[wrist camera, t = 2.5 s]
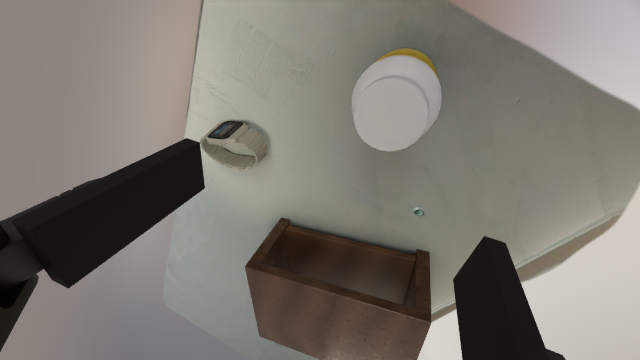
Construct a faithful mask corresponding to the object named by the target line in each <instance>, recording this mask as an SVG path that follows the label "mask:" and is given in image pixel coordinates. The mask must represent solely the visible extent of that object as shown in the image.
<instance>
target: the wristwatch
mask: <svg viewBox="0 0 640 360" xmlns="http://www.w3.org/2000/svg"><path fill="white" fill-rule="evenodd" d="M236 142H239V143H241V144H243V145H245V146H247V147H248V148H249V149H250V150H251V151H252V152H253V154H254V155H255V157H251V156H245V155H242V156H241V155H237V154H234V153H231V152H229V151H227V150H226V149H224V148H222V147H221V146H224V145H225V144H229V143H236ZM200 144H201V146H202V148H203V150H204V151H205V152H206V153H207V154H208V155H209V156H210V157H211V158H212V159H214V160H216V161H217V162H218V163H220V164H223V165H225V166H228V167H231V168H234V169H237V170H240V171H243V170H244V169H246V168H247V169H249V168H253V167H255V166H256V165H257V164H258V163H259V161H260V160H261V159H262V158H263V157H264V156H265V154H266V152H267V146H266V143H265V141H264V139H263V138H262V137H261V135H260V134H258V133H257V132H256V131H254V130H253V129H250V127H249V126H247V125H245V122H236V121H226V122H223V123H220V124H218V125H217V126H216V127H214V128H213V129H212V130H211V131H210V132H208V133H207V134H206V135H205V136H204V137H203V138H202V139H201V140H200Z"/></svg>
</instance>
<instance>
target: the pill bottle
mask: <svg viewBox="0 0 640 360" xmlns="http://www.w3.org/2000/svg"><path fill="white" fill-rule="evenodd" d="M441 103H442V91H441V86H440V82H439V79H438V75H437V72H436V69H435V66H434V64H433V63H432V61H431V60H430V58H429V57H428V56H427V55H425V54H424V53H423V52H421V51H419V50H416V49H412V48H399V49H395V50H392V51H390V52H388V53H386V54H385V55H383V56H382V57H381V58H380V59H378V60H377V61H376V62H375V63H373V64H372V65H371V66H370V67H368V68H367V69H366V70H365V71H364V72H363V74H362V75H361V76H360V78H359V79H358V81H357V83H356V85H355V87H354V90H353V94H352V101H351V106H352V113H353V120H354V125H355V128H356V131H357V133H358V134H359V136H360V137H361V139H362V140H363V141H364V142H365V143H367V144H368V145H369V146H371V147H373V148H375V149H378V150H382V151H398V150H401V149H404V148H407V147H409V146H410V145H412V144H413V143H415V142H416V141H417V140H418V139H419V138H420V137H421V136H422V135H423V134H425V133H426V132H427V131H428V130H429V129H430V128H431V126H432V125H433V124H434V122H435V120H436V119H437V117H438V114H439V112H440V108H441Z"/></svg>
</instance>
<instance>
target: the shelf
mask: <svg viewBox="0 0 640 360" xmlns="http://www.w3.org/2000/svg"><path fill="white" fill-rule="evenodd" d="M245 270H246V274H247V279H248V284H249V288H250V293H251V298H252V303H253V307H254V312H255V317H256V322H257V326H258V331H259V336H260V337H263V338H266V339H268V340H271V341H273V342H276V343H279V344H281V345H284V346H286V347H289V348H292V349H294V350H297V351H299V352H302V353H305V354H307V355H310V356H312V357H315V358H318V359H320V360H417V358H418V356H419V353H420V351H421V348H422V345H423V343H424V340H425V338H426V335H427V333H428V330H429V328H430V325H431V291H430V256H429V252H426V251H422V250H418V249H417V251H416V255H411V254H407V253H403V252H398V251H394V250H390V249H386V248H382V247H378V246H373V245H369V244H365V243H361V242H357V241H353V240H348V239H344V238H340V237H336V236H332V235H328V234H323V233H319V232H315V231H311V230H307V229H302V228H298V227H294V226H290V220H288V219H284V218H281V219H280V220H279V221H278V223H277V224H276V225H275V227H274V228H273V229H272V231H271V232H270V233H269V235H268V236H267V237H266V239H265V240H264V241H263V243H262V244H261V245H260V247H259V248H258V249H257V251H256V252H255V254H254V255H253V256H252V258H251V259H250V260H249V262H248V263H247V264H246V266H245Z"/></svg>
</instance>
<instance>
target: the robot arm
mask: <svg viewBox="0 0 640 360" xmlns="http://www.w3.org/2000/svg"><path fill="white" fill-rule="evenodd" d="M204 188H205V186H204V177H203V168H202V159H201V151H200V143H199V142H196V141H193V140H190V139H187V138H186V139H184V140H182V141H180V142H178V143H175V144H173V145H171V146H169V147H167V148H165V149H163V150H161V151H158V152H156V153H154V154H152V155H150V156H148V157H146V158H143V159H141V160H139V161H137V162H135V163H133V164H131V165H129V166H126V167H124V168H122V169H120V170H118V171H116V172H114V173H111V174H109V175H107V176H105V177H103V178H99V179H95V180H92V181H88V182H86V183H84V184H81V185H79V186H77V187H75V188H73V190H68V191H66V192H64V193H62V194H60V196H55V197H53V198H51V199H49V200H47V201H44V202H42V203H40V204H38V205H36V206H34V207H31V208H29V209H27V210H25V211H23V212H20V213H18V214H16V215H14V216H12V217H10V218H7V219H5V220H2V221H0V351H1V349H2V348H3V346H4V344H5V342H6V340H7V338H8V336H9V334H10V333H11V331H12V329H13V327H14V325H15V323H16V322H17V320H18V318H19V316H20V314H21V312H22V310H23V308H24V307H25V305H26V303H27V301H28V299H29V297H30V296H31V294H32V292H33V290H34V288H35V286H36V284H37V282H38V278H39V277H38V275H37V273H38V272H40V271H41V270H43V269H45V271H46V272H47V273H48V275H49V276H50V278H51V279H52V280H53V281H55V282H57V283H59V284H61V285H63V286H65V287H67V288H70V287H71V286H72V285H74V284H75V283H77V282H78V281H79V280H81V279H82V278H83V277H85V276H86V275H87V274H89V273H90V272H92V271H93V270H94V269H95V268H97V267H98V266H100V265H101V264H102V263H104V262H105V261H106V260H108V259H109V258H111V257H112V256H113V255H115V254H116V253H117V252H119V251H120V250H121V249H123V248H124V247H125V246H127V245H128V244H130V243H131V242H132V241H134V240H135V239H136V238H138V237H139V236H140V235H142V234H143V233H144V232H146V231H147V230H148V229H150V228H151V227H153V226H154V225H155V224H157V223H158V222H159V221H161V220H162V219H164V218H165V217H166V216H168V215H169V214H170V213H172V212H173V211H174V210H176V209H177V208H178V207H180V206H181V205H183V204H184V203H185V202H187V201H188V200H189V199H191V198H192V197H193V196H195V195H196V194H197V193H199V192H200V191H202V190H203V189H204ZM453 282H454V291H455V299H456V308H457V316H458V325H459V332H460V341H461V350H462V358H463V360H565V358H564V357H563V355H560V354H558V353H555V352H553V351H551V350H548V349H546V348H545V346H544V343H543V340H542V338H541V335H540V333H539V330H538V327H537V325H536V322H535V319H534V317H533V314H532V311H531V309H530V306H529V304H528V301H527V298H526V296H525V293H524V290H523V288H522V285H521V283H520V280H519V277H518V275H517V272H516V269H515V267H514V264H513V262H512V259H511V256H510V254H509V251H508V248H507V246H506V243H504V242H501V241H498V240H495V239H492V238H489V237H486V236H484V237H483V239H482V240H481V241H480V243H479V244H478V246H477V247H476V248H475V250H474V251H473V252H472V254H471V255H470V257H469V258H468V259H467V261H466V262H465V264H464V265H463V266H462V268H461V269H460V271H459V272H458V273H457V275H456V276H455V277H454V279H453Z"/></svg>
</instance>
